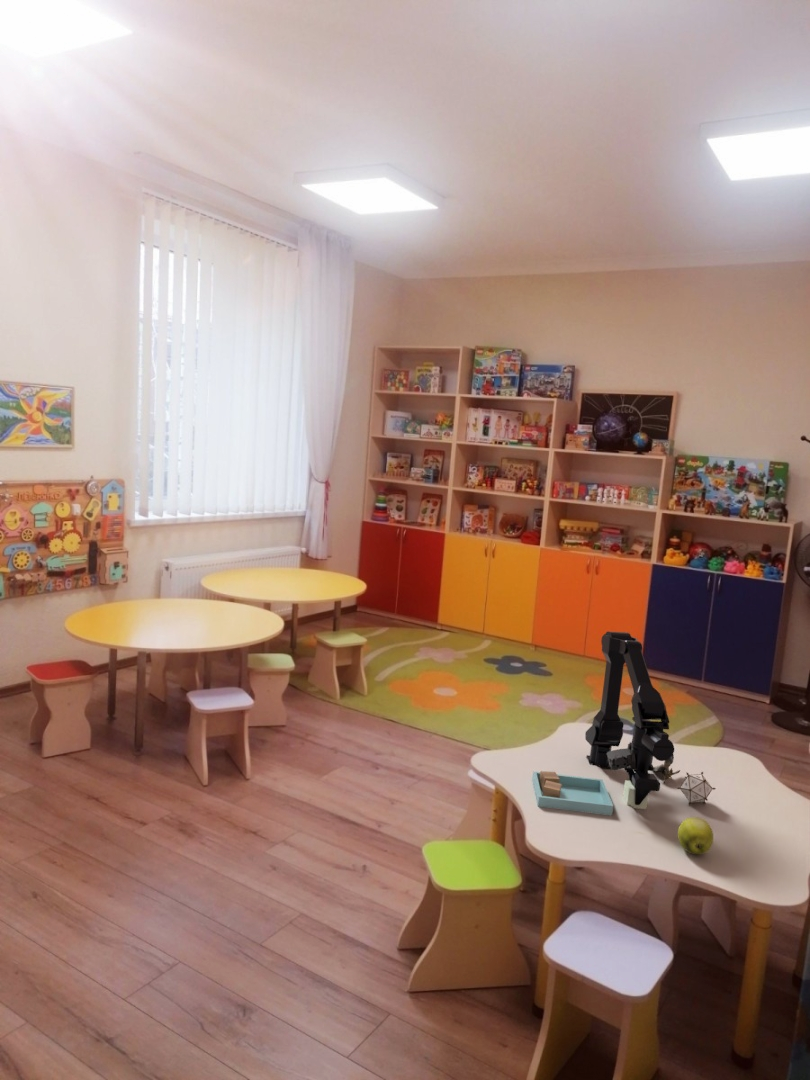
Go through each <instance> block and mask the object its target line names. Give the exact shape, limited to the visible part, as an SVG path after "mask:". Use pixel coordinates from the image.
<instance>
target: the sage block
mask: <svg viewBox="0 0 810 1080" xmlns="http://www.w3.org/2000/svg"><path fill="white" fill-rule="evenodd" d="M622 793H623V794H622V797H623V799H624V801H625V804H626V806H631V808H632V809H639V810H640V809H642V810H646V809H647V805H648V799H649V794H650V792H649V793H648V795H647V796H646V797H645V798H644V800H643V801H642V802H641V804H640V805H635V789H634V786H633V785H632V783H631V781H629V779H628V780H624V786H623V792H622Z"/></svg>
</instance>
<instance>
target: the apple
mask: <svg viewBox="0 0 810 1080" xmlns="http://www.w3.org/2000/svg"><path fill="white" fill-rule="evenodd" d="M677 837H678V838H677V839H678V841H679V844H680V846H681V847H682V848H683V849H684V850H685V851H687V852H688V853H690V854H693V855H702V854H705V853H707V852H708V851H710V849H711V848H712V846H713V844H714V832H713V828H712V827H711V826H710V824H709V822H708V821H706V820H705V819H703V818H700V817H694V816H693V817H689V818H688V817H687V818H686V819H684V820H683V821H682V822H681V824H680V825H679V827H678V830H677Z"/></svg>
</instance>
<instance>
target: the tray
mask: <svg viewBox="0 0 810 1080" xmlns="http://www.w3.org/2000/svg"><path fill="white" fill-rule="evenodd" d="M556 774H557V776H558V777H559V784H562V785H561V792H560V798H555V797H547V796H543V792H542V790H541V788H540V786H539V779H540V771H532V778H531V783H532V786H533V791H534V795H535V801H536V803H537V807H538V808H539V807H540V808H548V809H554V810H555V809H556V810H563V811H573V812H582V813H589V814H596V815H597V814H598V815H604V816H613V810H614V804H613V802H612V799H611V797H610V795H609V792H608V790H607V787H606V785H605V782H604V781H603V779H601V778H600V779H599V778H592V777H584V776H583V777H582V776H575V775H566V774H559V773H556Z"/></svg>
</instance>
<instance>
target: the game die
mask: <svg viewBox="0 0 810 1080" xmlns="http://www.w3.org/2000/svg"><path fill="white" fill-rule="evenodd" d="M684 778H685V779H684V780H683V782H682V783H681V785H680V787H679V786H678V787H676V789H678V790H680V791H681V793H682V794H683V795H684V796H685V797H686V799H687V801H688V802H689V803H688V805H689V806H691V804H692V803H694V804H695V803H703V804H704V805H707V804H706V803H707V802H708V801H709V799H708V797H709V796H710V795H711V794H710V793H711V792H712V791H714V790H716V788H715V787H712V786H711V784H710V782H709V781H708V780H707V779H706V777H705V776H704V771H701V772H700V773H699V774H697V773H696V774H695V773H694V774H689V772H688V771H687V772H686V776H685V777H684ZM706 801H707V802H706Z"/></svg>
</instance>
